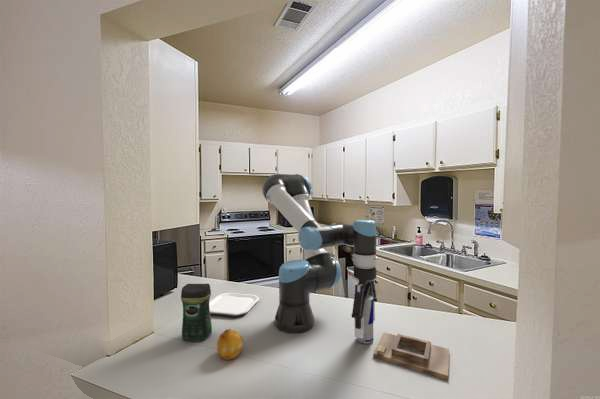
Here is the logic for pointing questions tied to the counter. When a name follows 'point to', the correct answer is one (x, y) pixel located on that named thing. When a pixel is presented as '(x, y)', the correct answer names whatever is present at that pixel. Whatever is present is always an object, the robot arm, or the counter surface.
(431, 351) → the socket plate
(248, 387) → the counter surface
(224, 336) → the fruit
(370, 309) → the beverage can
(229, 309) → the plate
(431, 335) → the counter surface
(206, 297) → the coffee jar
